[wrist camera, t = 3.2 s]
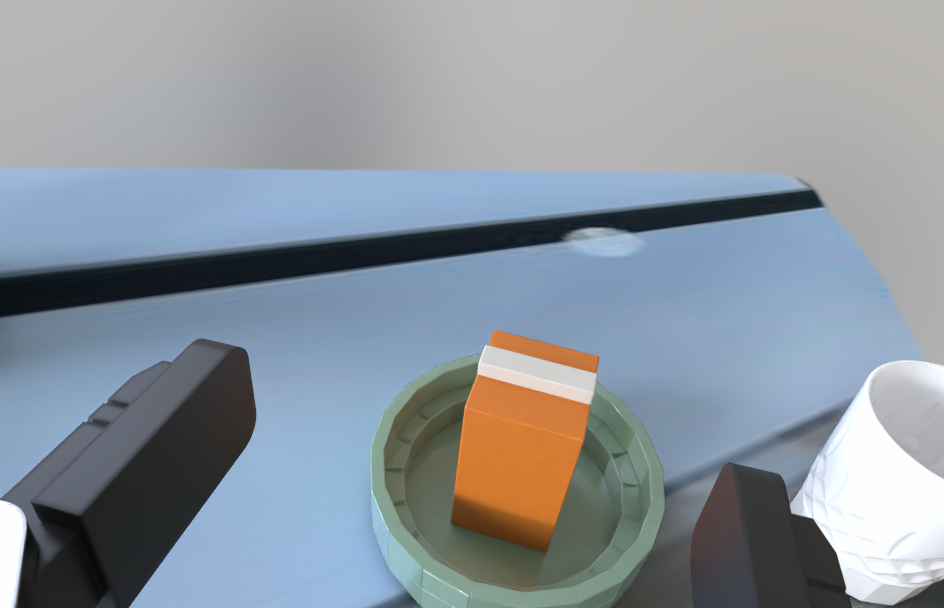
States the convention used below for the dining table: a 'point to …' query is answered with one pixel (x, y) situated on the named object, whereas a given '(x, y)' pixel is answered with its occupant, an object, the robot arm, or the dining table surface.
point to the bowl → (492, 559)
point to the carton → (522, 438)
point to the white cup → (884, 484)
